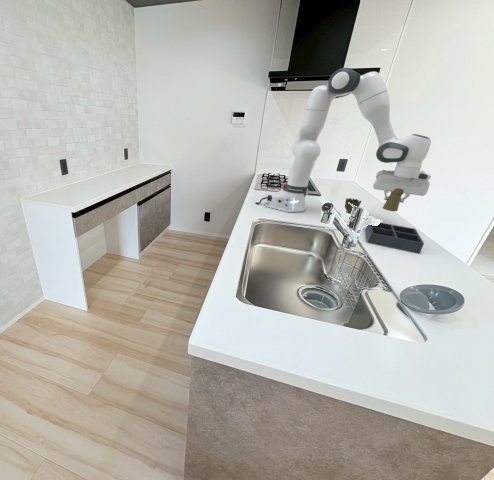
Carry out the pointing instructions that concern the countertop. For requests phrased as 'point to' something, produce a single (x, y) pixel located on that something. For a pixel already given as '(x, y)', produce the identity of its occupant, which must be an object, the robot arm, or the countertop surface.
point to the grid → (395, 237)
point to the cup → (348, 206)
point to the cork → (393, 200)
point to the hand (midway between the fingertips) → (393, 201)
